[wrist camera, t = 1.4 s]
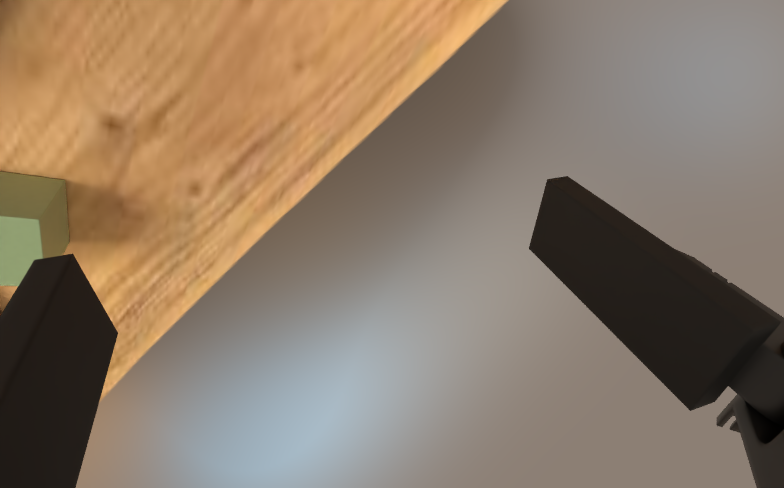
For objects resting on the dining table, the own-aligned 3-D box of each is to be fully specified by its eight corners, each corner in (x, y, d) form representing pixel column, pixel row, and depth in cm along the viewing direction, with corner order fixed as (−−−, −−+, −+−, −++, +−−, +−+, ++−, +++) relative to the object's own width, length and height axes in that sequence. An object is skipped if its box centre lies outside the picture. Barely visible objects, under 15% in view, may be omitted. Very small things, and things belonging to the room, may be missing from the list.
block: (-25, 234, 27) (-66, 283, 23) (-39, 165, 24) (-87, 207, 21) (69, 242, 29) (46, 287, 25) (65, 179, 27) (39, 219, 23)
